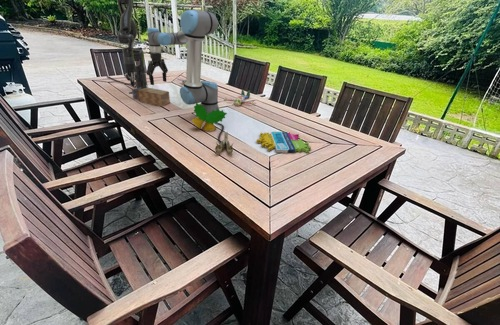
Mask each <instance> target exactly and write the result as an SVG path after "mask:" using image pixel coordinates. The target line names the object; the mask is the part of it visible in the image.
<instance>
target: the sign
mask: <svg viewBox="0 0 500 325" xmlns="http://www.w3.org/2000/svg"><path fill="white" fill-rule="evenodd" d="M299 136H300V135H299V134H298V133H296V134H294V133H291V132H287V131H270V132H264V133H263V132H260V133H259V139H258V138H257V139H256V143H257V144H261V148H263V147H264V148H265V149H267V151H268V152H271V151H272V150H273V149H275V152H276V153H283V154H285V153H287V154H288V153H290V154H293V153H296V152H298V153H301V152H305V153H310V151H311V150H312V149H311V148H312V146H309V142H304V141H303V139H302V138H299Z"/></svg>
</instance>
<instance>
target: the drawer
mask: <svg viewBox="0 0 500 325" xmlns="http://www.w3.org/2000/svg"><path fill="white" fill-rule="evenodd" d="M141 89H142V88H141V87H140V88H133V89H131V91H129V92H128V94H129V95H132V99H133V100H136V99H137V100H140V97H139V90H141Z"/></svg>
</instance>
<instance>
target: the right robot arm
mask: <svg viewBox="0 0 500 325" xmlns="http://www.w3.org/2000/svg"><path fill="white" fill-rule="evenodd" d="M179 23H180V24H179V25H180V28H181V29H180V30H179V31H176V32H161V31H160V29H159V28H158V27H148V28H147V39H148V40H147V41H148V48H149V56H150V59H151V60H147V62H148V64H147V69H146V76H148V79H149V83H150V85H151V86H155V80H154V75H153V74H154V72H155V70H156V68H158V67H159V69H160V70H161V71H162V73H161V75H162V82H165V83H166V82H167V73H168V72H169V69H168V67H167V65H166V62H165V59H164V58H163V56H162V48H161V46H165V47H168V46H174V45H175V46H177V45H179V46H180V45H186V79H185V80H186V81H184V82H183V86H181V87H180V88H179V96H180V98H181V101H182V102H183V103H184V104H186V105H188V106H191V105H196V102H197V103H198V104H201V106H204V109H206V112H208V113H211V112H212V110H214V111H216V110H217V109H219V111H221V110H220V108H219V102H218V99H219V98H218V97H219V88H218V84H217V82H214V81H210V80H200V79H201V74H202V73H201V72H202V55H203V54H202V53H203V41H204V40H205V39H206V36H209V35H211V34H214V33H215V32H216V31H217V30H218V27H219V21H218V18H217V16H216V15H215V14H214V13H213V12H211V11H209V10H208V11H207V10H196V9H187V10H185V11H184V12H183V13H182V14H181V16H180V21H179ZM208 113H207V115H208ZM215 124H216V125H219V126H221V127H222V128H221V131H220V132H219V134H218V137H217V139H218V140H217V141H218V142H219V143H220V144H221V141H222V140H221V139H220V137H221V135H222V133H223V131H224V128H225V126H224V124H222V123H220V122H218V123H215Z"/></svg>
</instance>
